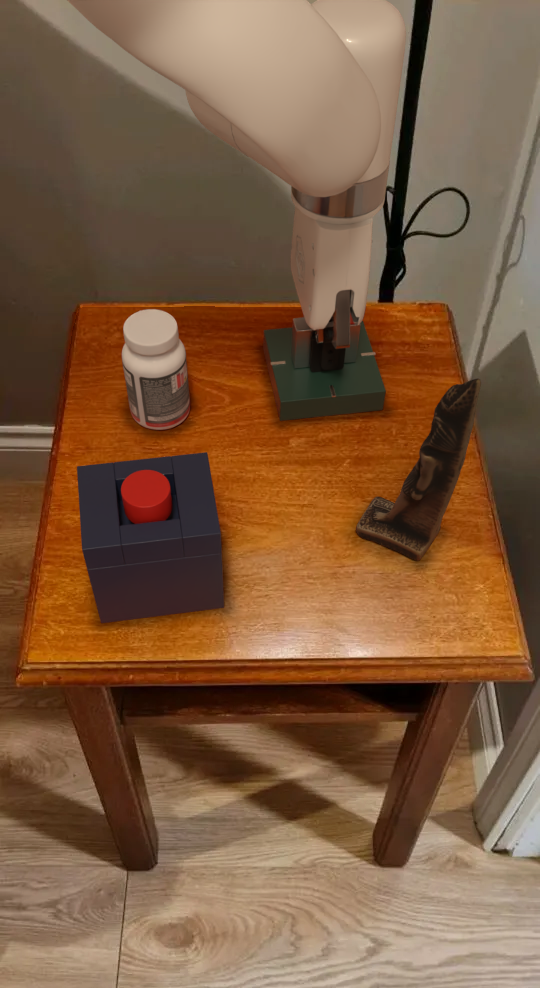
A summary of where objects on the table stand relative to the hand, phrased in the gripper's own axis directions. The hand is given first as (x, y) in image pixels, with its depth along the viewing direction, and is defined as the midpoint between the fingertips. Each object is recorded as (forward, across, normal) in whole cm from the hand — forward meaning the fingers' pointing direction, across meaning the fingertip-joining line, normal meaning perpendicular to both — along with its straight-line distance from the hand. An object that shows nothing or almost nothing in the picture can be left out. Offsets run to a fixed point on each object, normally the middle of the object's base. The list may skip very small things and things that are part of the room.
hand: (323, 358), depth 87 cm
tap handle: (0, 0, 0) cm, 0 cm away
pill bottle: (+3, +2, -16) cm, 16 cm away
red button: (-6, +21, -18) cm, 28 cm away
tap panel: (+3, 0, 0) cm, 3 cm away
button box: (+3, +21, -18) cm, 28 cm away
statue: (+3, +20, +3) cm, 20 cm away
